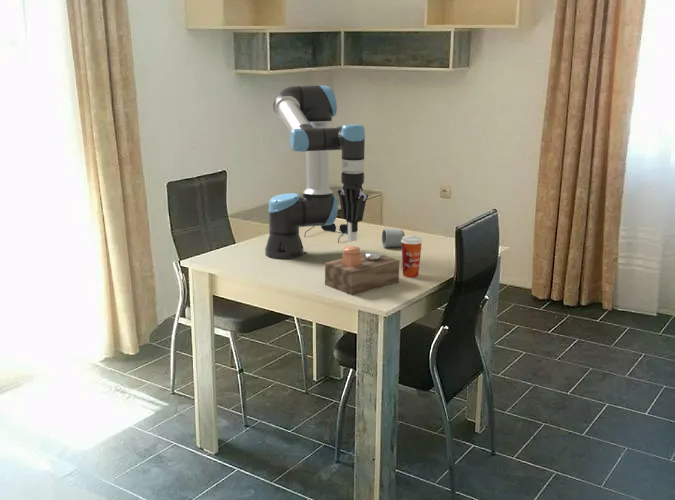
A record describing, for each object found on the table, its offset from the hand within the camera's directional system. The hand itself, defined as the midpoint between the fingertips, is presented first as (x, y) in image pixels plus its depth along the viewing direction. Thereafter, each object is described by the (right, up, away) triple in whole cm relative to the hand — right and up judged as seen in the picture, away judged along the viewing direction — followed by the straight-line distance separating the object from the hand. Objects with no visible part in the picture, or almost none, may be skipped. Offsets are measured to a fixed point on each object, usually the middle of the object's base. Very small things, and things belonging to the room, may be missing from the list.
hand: (352, 240), depth 262 cm
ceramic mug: (+17, -2, +55) cm, 58 cm away
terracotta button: (0, -10, +3) cm, 10 cm away
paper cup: (+22, -13, +17) cm, 30 cm away
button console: (+4, -15, +8) cm, 17 cm away
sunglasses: (-8, +2, +70) cm, 70 cm away
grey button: (+7, -12, +10) cm, 17 cm away
